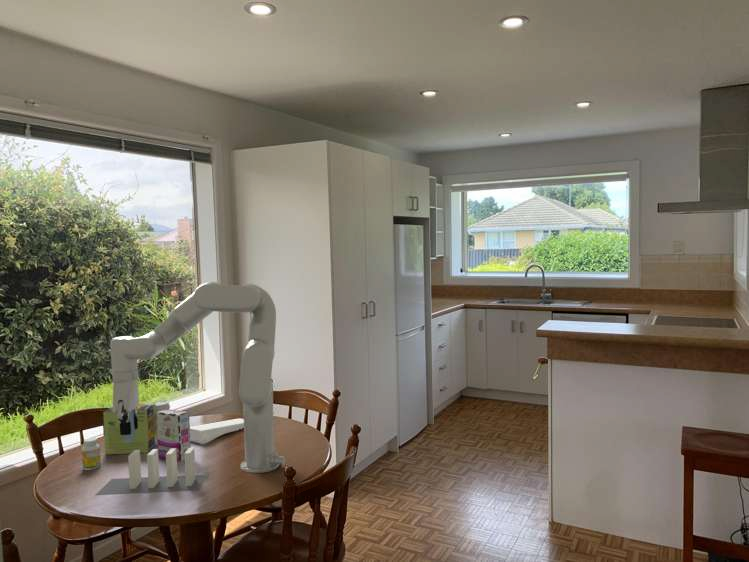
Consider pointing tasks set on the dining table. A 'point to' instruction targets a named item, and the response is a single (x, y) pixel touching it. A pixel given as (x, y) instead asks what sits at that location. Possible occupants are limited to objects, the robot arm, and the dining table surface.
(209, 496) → the dining table surface
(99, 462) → the supplement bottle
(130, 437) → the domino placed
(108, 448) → the protein box
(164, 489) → the mat
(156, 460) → the domino
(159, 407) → the coffee cup
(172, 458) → the domino
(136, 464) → the domino
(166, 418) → the candy bar box
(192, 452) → the domino
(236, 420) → the wall bracket
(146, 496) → the dining table surface
